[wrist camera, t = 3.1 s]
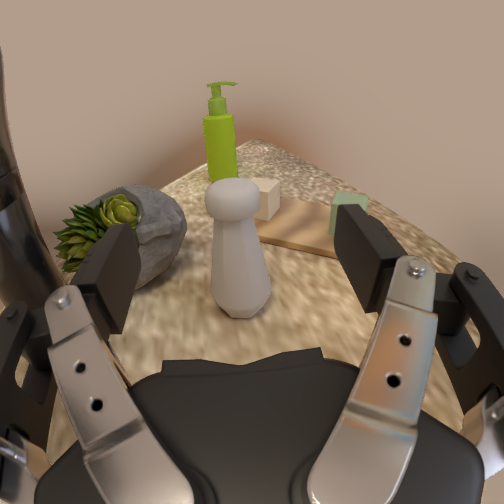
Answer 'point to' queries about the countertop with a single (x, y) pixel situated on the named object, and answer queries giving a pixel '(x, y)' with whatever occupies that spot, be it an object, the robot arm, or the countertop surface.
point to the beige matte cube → (267, 198)
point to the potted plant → (141, 220)
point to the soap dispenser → (220, 137)
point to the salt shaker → (237, 248)
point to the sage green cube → (345, 198)
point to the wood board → (299, 227)
